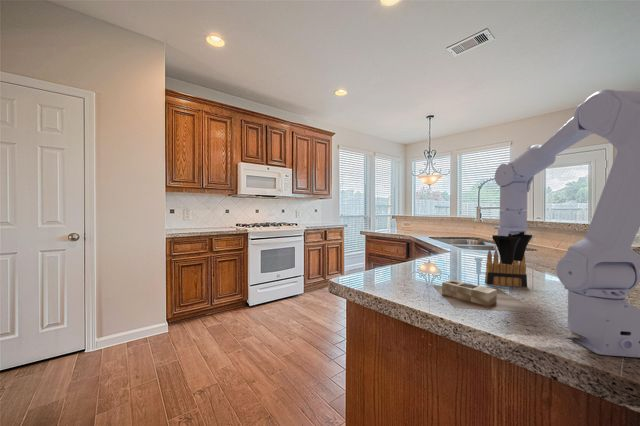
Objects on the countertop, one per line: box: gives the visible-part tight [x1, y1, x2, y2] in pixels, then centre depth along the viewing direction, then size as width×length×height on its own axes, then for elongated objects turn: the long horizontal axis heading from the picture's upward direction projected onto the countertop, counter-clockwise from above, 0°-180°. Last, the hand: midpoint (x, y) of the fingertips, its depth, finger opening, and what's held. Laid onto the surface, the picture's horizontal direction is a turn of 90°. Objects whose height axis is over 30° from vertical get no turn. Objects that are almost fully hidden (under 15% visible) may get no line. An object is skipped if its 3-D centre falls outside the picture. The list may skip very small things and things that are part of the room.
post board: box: [432, 282, 542, 314], centre depth 67 cm, size 18×18×5 cm
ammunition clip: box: [484, 249, 528, 288], centre depth 79 cm, size 11×2×12 cm, turn 76°
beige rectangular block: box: [441, 279, 497, 306], centre depth 66 cm, size 11×5×3 cm, turn 37°
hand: (512, 262), depth 68 cm, fingers open, 7 cm apart
